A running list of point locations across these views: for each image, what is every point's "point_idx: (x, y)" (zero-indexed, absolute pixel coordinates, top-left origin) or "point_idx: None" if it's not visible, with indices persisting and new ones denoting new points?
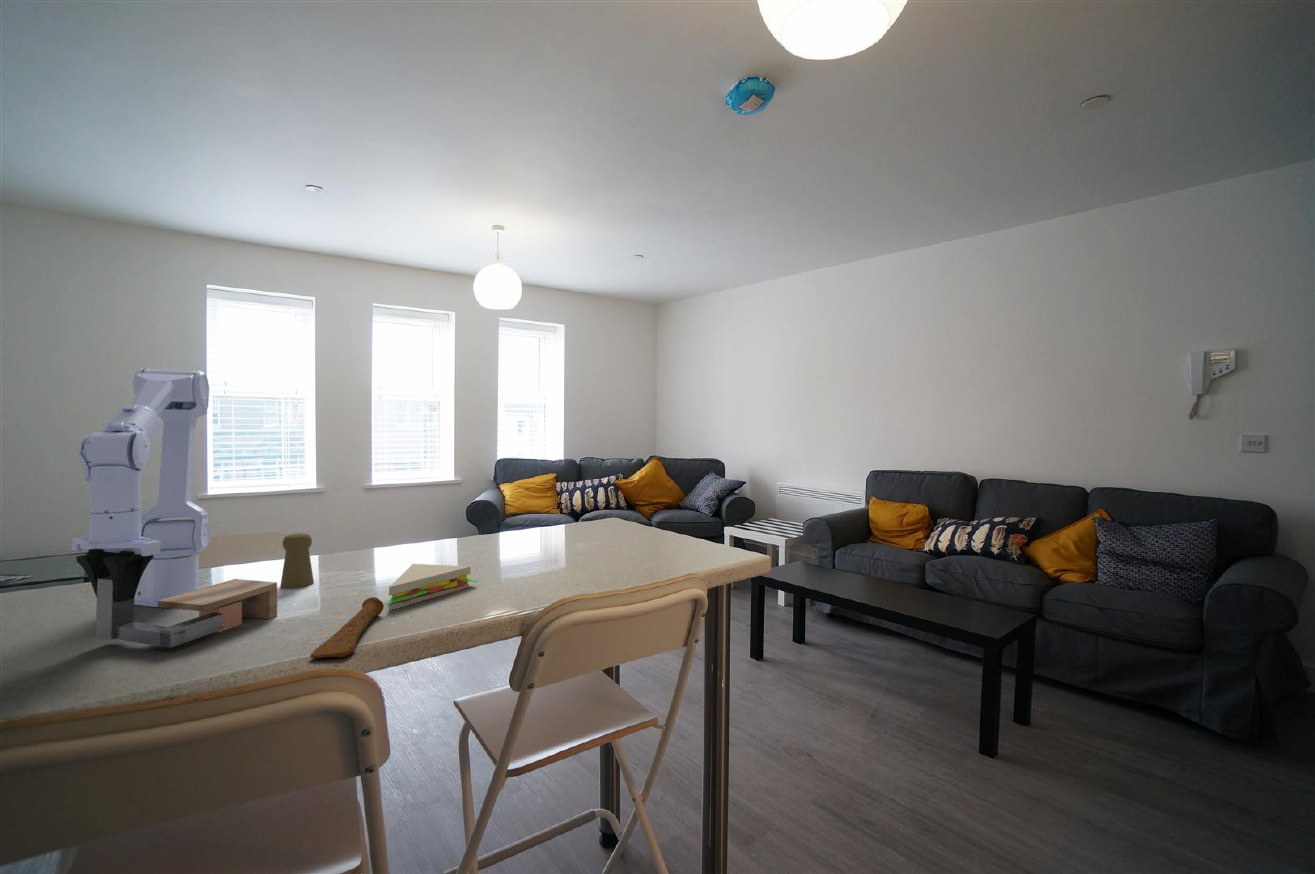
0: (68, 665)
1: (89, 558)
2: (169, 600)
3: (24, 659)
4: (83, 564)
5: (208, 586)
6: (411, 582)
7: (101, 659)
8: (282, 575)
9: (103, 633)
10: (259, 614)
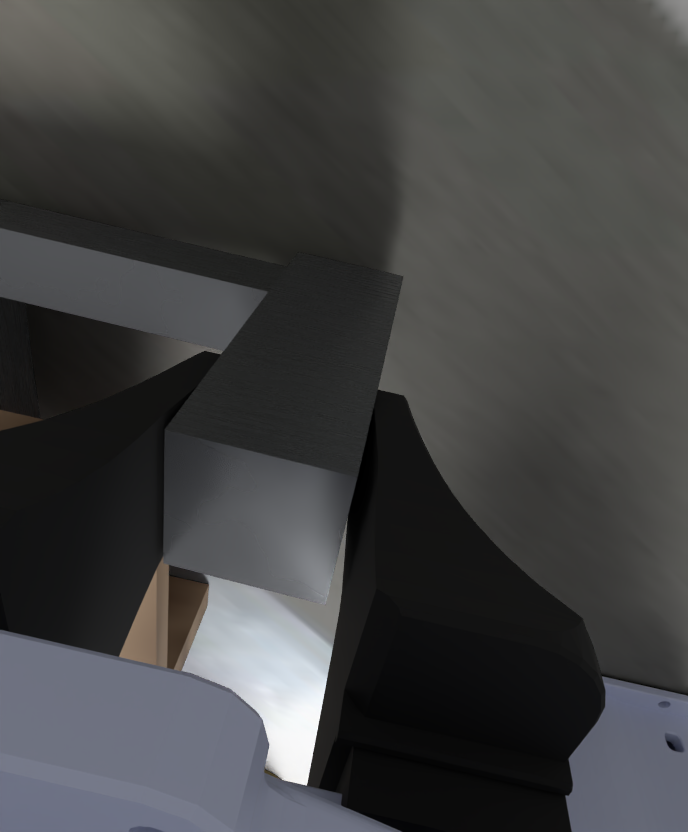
0: (309, 3)
1: (372, 629)
2: None
3: (640, 77)
4: (479, 576)
5: (154, 655)
6: None
7: (221, 102)
8: None
9: (347, 274)
10: None
